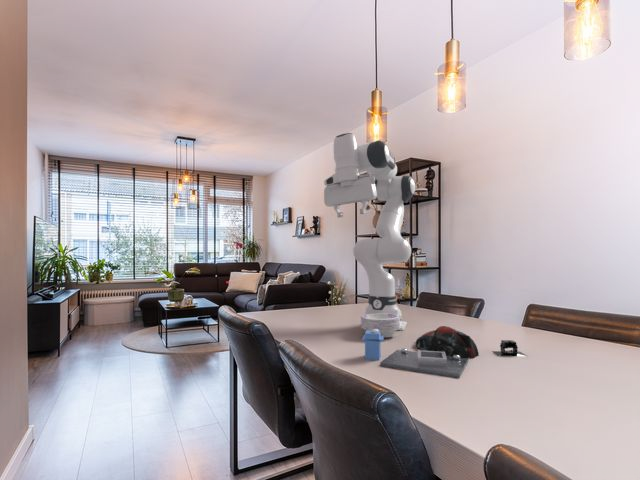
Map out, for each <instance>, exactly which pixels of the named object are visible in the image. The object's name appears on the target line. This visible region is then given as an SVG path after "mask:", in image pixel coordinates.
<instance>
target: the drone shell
mask: <svg viewBox="0 0 640 480" xmlns="http://www.w3.org/2000/svg"><path fill="white" fill-rule="evenodd" d="M415 346H417V348H418V349H420V350H422V351H439V352H445V354H446V356H451V357H453V355H460V358H467V359H475V358H476V357H479V351H478V347H477V344H476V343H475V341H474V340H473V339H472V337H471V336H470V335H467V334H466V333H464V332H462V331H459V330H456V328H455V329H454V328H452V327H450V326H446V325H440V326H439V327H437V328H436V329H435V330H431V331H427V332H425V333H424V334H422V335H421V336H419V337H418V338H417V339H416V341H415Z"/></svg>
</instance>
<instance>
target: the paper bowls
mask: <svg viewBox="0 0 640 480" xmlns="http://www.w3.org/2000/svg"><path fill="white" fill-rule="evenodd" d="M360 325H361V326H360V328H361V329H362V330H363V331H365V332H366V331H367V330H368V331H372V329H378V331H380V335H381V336H384V339H389V338H391V337H393V336H394V335H395V333H396V331H399V330H398V329H400V317H399V316H398V315H395V314H387V313H374V314H366V315H365V314H363V315H361V316H360Z"/></svg>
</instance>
